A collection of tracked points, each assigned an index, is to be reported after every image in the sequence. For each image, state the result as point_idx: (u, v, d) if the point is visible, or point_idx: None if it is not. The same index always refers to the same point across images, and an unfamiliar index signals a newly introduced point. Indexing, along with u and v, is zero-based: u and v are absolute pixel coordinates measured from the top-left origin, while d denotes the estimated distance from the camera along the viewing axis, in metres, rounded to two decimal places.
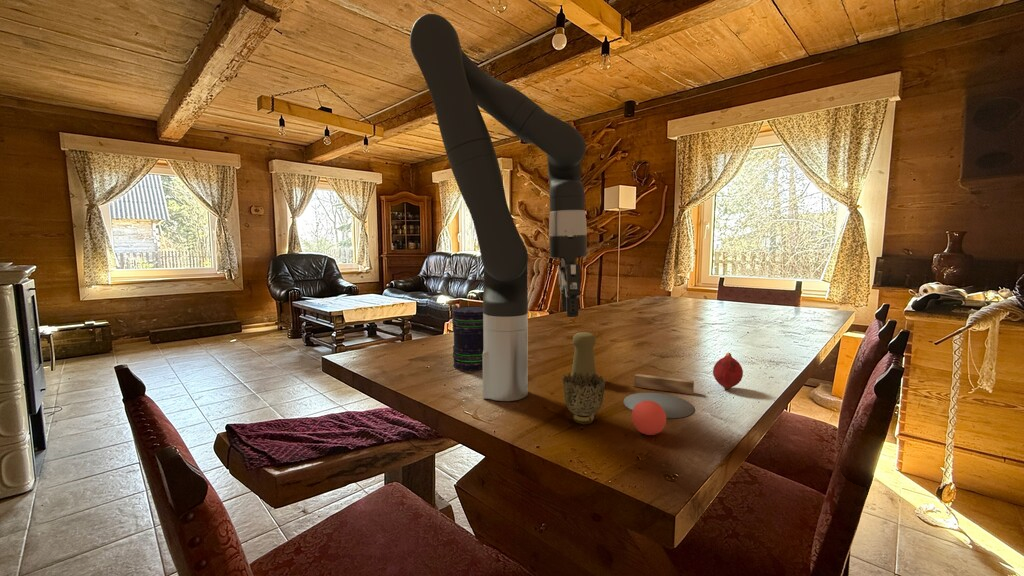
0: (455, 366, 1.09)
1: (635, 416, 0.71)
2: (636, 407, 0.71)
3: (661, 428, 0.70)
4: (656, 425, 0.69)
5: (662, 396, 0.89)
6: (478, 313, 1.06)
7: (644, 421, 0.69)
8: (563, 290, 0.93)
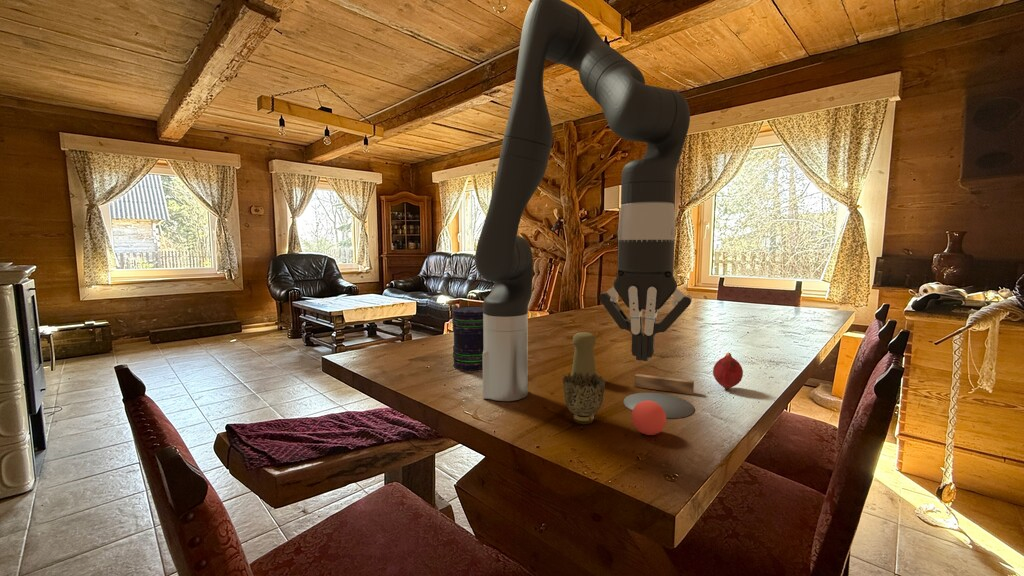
0: (455, 366, 1.09)
1: (635, 416, 0.71)
2: (636, 407, 0.71)
3: (661, 428, 0.70)
4: (656, 425, 0.69)
5: (662, 396, 0.89)
6: (478, 313, 1.06)
7: (644, 421, 0.69)
8: None
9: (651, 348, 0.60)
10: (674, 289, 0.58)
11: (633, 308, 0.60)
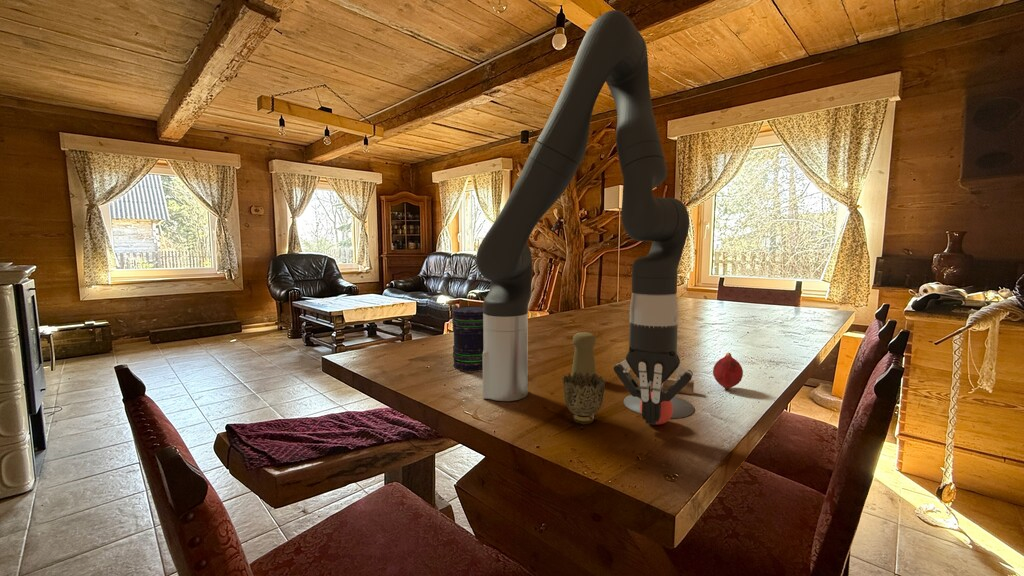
0: (455, 366, 1.09)
1: None
2: None
3: (669, 409, 0.73)
4: None
5: None
6: (478, 313, 1.06)
7: None
8: None
9: (658, 414, 0.71)
10: (677, 366, 0.69)
11: (643, 380, 0.71)
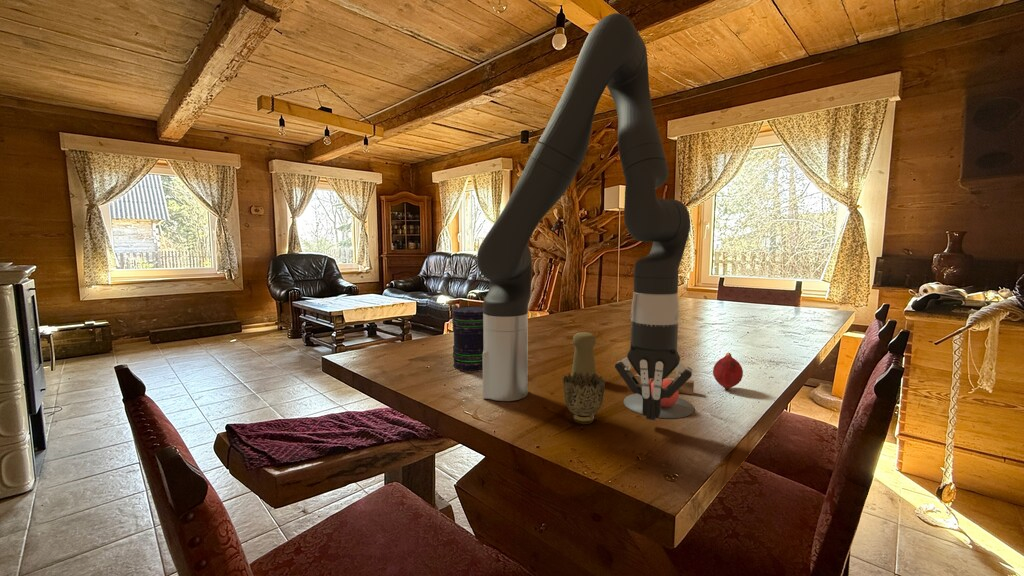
0: (455, 366, 1.09)
1: None
2: None
3: None
4: None
5: None
6: (478, 313, 1.06)
7: None
8: None
9: (658, 410, 0.73)
10: (677, 363, 0.71)
11: (644, 377, 0.73)
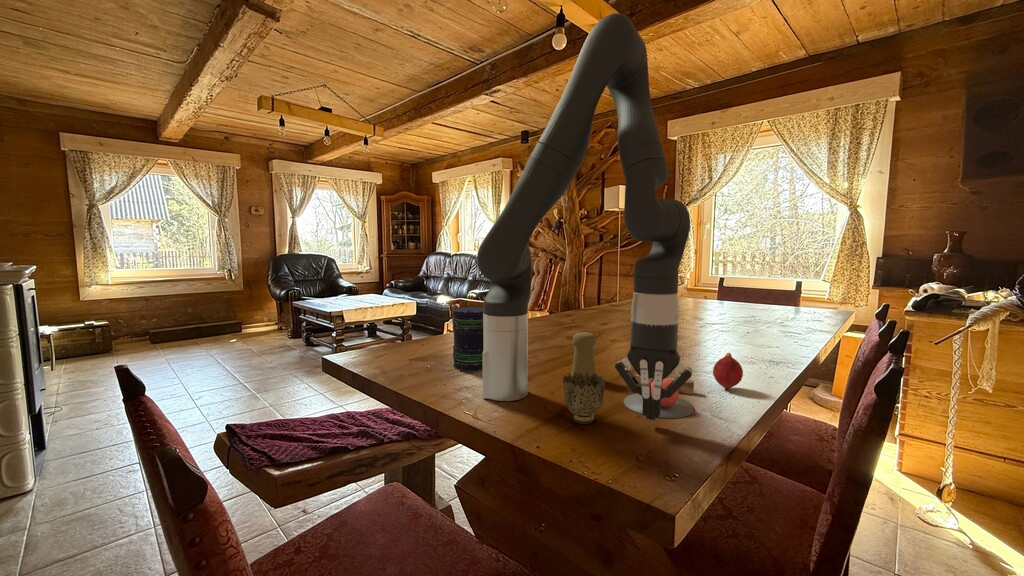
0: (455, 366, 1.09)
1: None
2: None
3: None
4: None
5: None
6: (478, 313, 1.06)
7: None
8: None
9: (658, 410, 0.73)
10: (677, 363, 0.71)
11: (644, 377, 0.73)
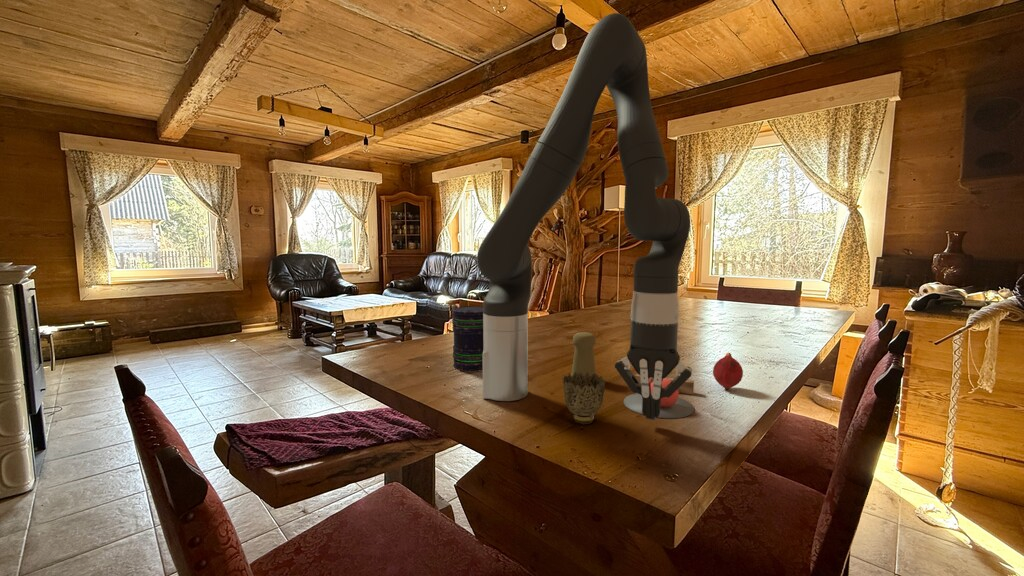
0: (455, 366, 1.09)
1: None
2: None
3: None
4: None
5: None
6: (478, 313, 1.06)
7: None
8: None
9: (658, 409, 0.73)
10: (677, 363, 0.71)
11: (643, 377, 0.73)
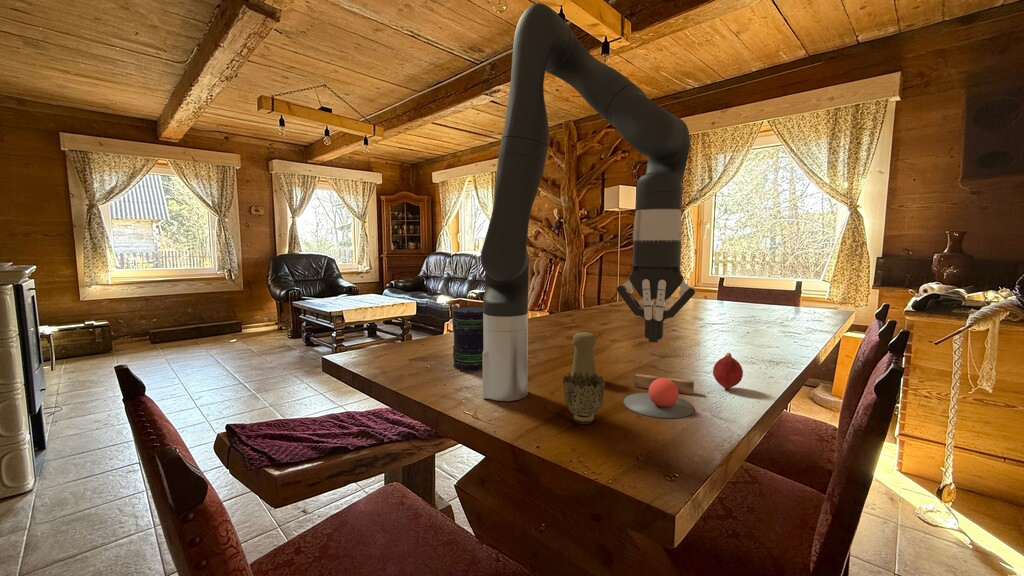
0: (455, 366, 1.09)
1: None
2: (653, 401, 0.83)
3: None
4: None
5: None
6: (478, 313, 1.06)
7: None
8: None
9: (661, 331, 0.72)
10: (681, 282, 0.70)
11: (646, 298, 0.71)
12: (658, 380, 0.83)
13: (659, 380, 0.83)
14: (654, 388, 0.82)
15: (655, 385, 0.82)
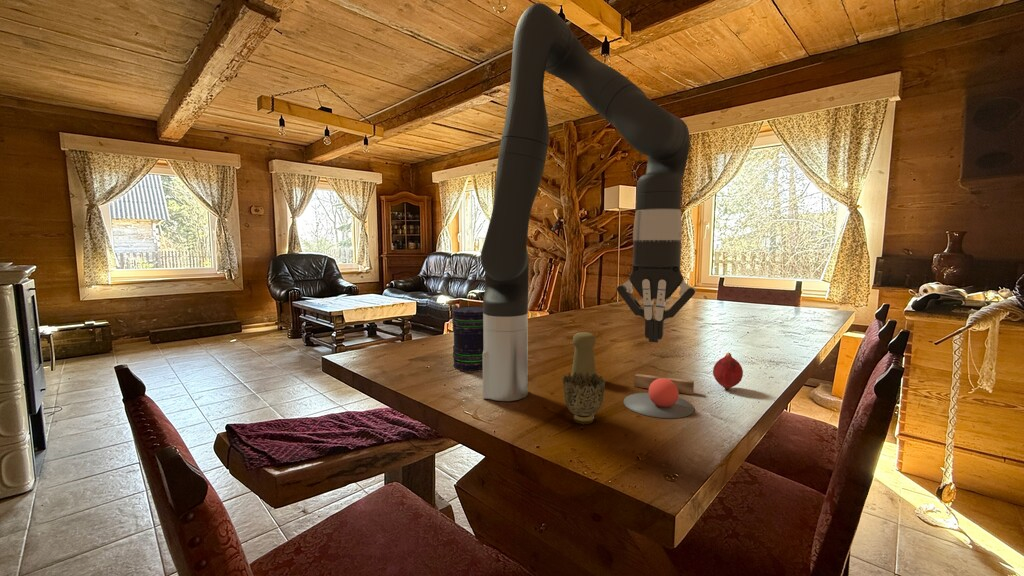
0: (455, 366, 1.09)
1: None
2: (653, 401, 0.83)
3: None
4: None
5: None
6: (478, 313, 1.06)
7: None
8: None
9: (661, 331, 0.72)
10: (681, 281, 0.70)
11: (646, 297, 0.71)
12: (658, 380, 0.83)
13: (659, 380, 0.83)
14: (654, 388, 0.82)
15: (655, 385, 0.82)
